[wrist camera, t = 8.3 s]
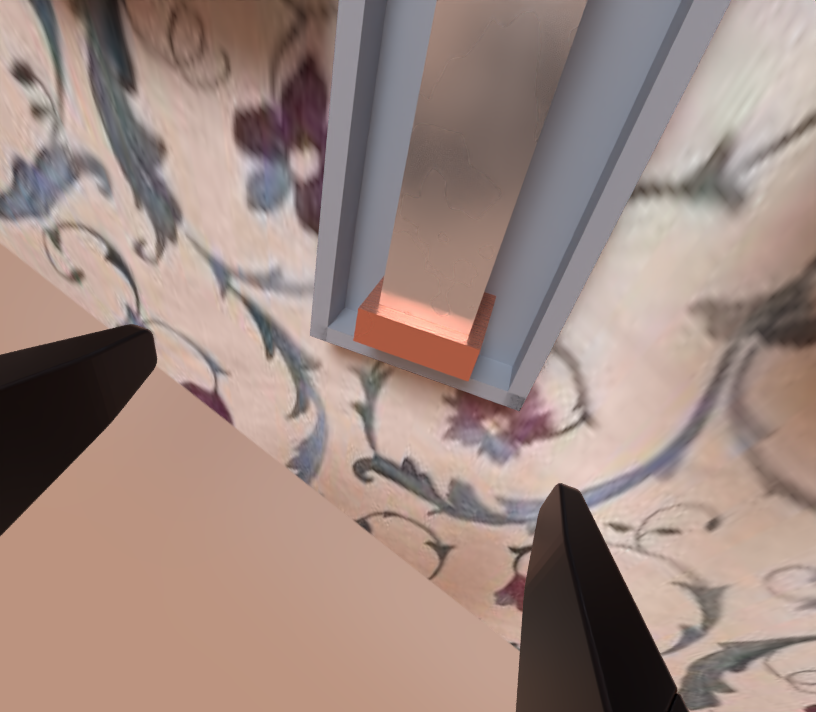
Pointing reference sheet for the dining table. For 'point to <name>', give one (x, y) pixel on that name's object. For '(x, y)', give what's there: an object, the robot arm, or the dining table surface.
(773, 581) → the dining table surface
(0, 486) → the robot arm
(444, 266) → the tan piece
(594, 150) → the tray
